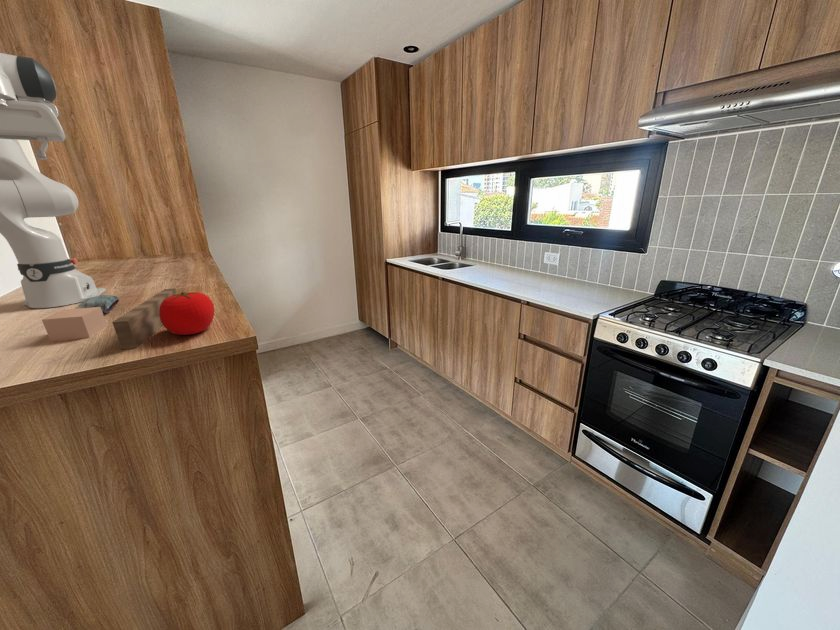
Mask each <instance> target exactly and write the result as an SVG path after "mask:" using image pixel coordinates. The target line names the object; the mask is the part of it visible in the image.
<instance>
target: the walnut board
mask: <svg viewBox="0 0 840 630" xmlns="http://www.w3.org/2000/svg"><path fill="white" fill-rule="evenodd" d="M176 294H178V292H177V289H176V288H164V289H162V290H161V291H159V292H157V293H156V294H154V295H152V296H151V297H150V298H149V299H147V300H145V301H144V302H142V303H140V304H139V305H137V306H135V307H134V308H131V310H129V311H128V312H126V313H124V314H123V315H121V316H120V317H118V318H117V319H115V320H113V321H112V326H113V329H114V331H115V334H116V338H117V340H118V344H119V345H120V349H121V350H128V349H137V348H138V347H140V346H141V344H143V343H144V342H145V341H146V340H147V339H148V338H150V337H151V336H152V335H153V334H154V333H155V332H157V331H158V330H159V329H160V328H162V326H164V325H163V324H162V322H161V320H160V316H159V309H160V305H161V303H162V301H163V300H164V299H166V298H167V297H170V296H172V295H176Z"/></svg>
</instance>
